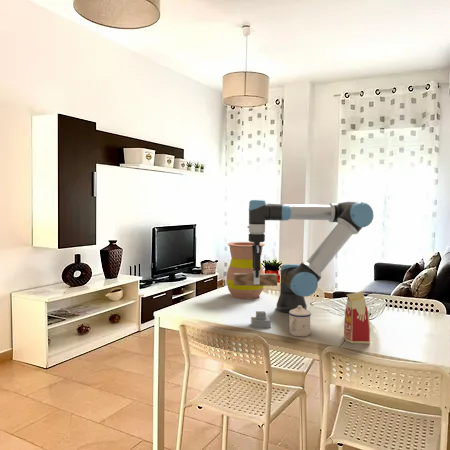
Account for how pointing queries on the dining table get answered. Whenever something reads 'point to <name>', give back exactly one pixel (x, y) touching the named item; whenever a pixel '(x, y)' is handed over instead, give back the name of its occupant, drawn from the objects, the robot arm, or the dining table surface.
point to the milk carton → (356, 319)
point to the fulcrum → (260, 320)
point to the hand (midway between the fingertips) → (256, 283)
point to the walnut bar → (249, 279)
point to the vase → (242, 270)
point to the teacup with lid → (299, 322)
